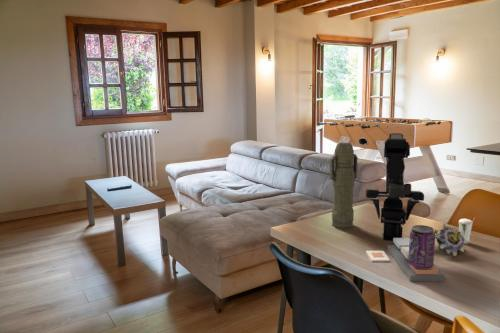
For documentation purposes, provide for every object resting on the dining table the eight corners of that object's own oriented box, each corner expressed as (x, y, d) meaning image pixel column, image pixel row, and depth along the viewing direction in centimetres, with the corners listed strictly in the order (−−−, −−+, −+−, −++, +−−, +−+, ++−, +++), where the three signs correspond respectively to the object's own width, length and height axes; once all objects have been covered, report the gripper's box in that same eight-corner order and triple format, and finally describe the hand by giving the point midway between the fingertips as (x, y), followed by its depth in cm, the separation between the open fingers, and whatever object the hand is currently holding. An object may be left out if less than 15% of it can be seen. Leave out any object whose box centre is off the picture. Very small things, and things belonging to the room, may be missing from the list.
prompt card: (366, 252, 146) (366, 250, 146) (383, 252, 146) (383, 250, 146) (371, 261, 138) (371, 259, 138) (389, 261, 138) (389, 259, 138)
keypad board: (387, 250, 147) (387, 244, 147) (415, 250, 147) (416, 244, 147) (410, 281, 124) (410, 275, 124) (444, 281, 123) (444, 275, 123)
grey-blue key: (393, 241, 147) (393, 238, 146) (411, 241, 146) (411, 237, 146) (398, 248, 140) (399, 244, 140) (418, 248, 140) (418, 244, 140)
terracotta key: (409, 265, 130) (409, 261, 130) (429, 265, 130) (430, 261, 130) (416, 274, 124) (416, 270, 123) (438, 274, 123) (438, 270, 123)
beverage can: (406, 260, 131) (408, 223, 128) (431, 262, 129) (433, 225, 127) (409, 269, 124) (411, 231, 122) (434, 271, 122) (437, 233, 120)
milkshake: (475, 245, 150) (477, 219, 148) (459, 244, 151) (461, 218, 150) (471, 240, 155) (473, 215, 153) (455, 240, 156) (457, 214, 154)
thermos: (324, 224, 176) (325, 143, 170) (347, 220, 181) (349, 141, 174) (337, 230, 168) (339, 145, 162) (360, 226, 173) (363, 143, 167)
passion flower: (452, 270, 143) (443, 249, 137) (429, 253, 152) (420, 233, 146) (476, 250, 144) (468, 228, 138) (452, 234, 153) (444, 213, 147)
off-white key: (400, 251, 138) (400, 247, 138) (420, 251, 138) (420, 247, 138) (407, 259, 132) (407, 254, 132) (427, 259, 132) (428, 254, 131)
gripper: (368, 174, 136) (366, 221, 137) (428, 177, 133) (426, 225, 133) (366, 173, 147) (364, 216, 148) (421, 175, 144) (419, 219, 144)
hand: (392, 219), depth 143 cm, fingers open, 9 cm apart
